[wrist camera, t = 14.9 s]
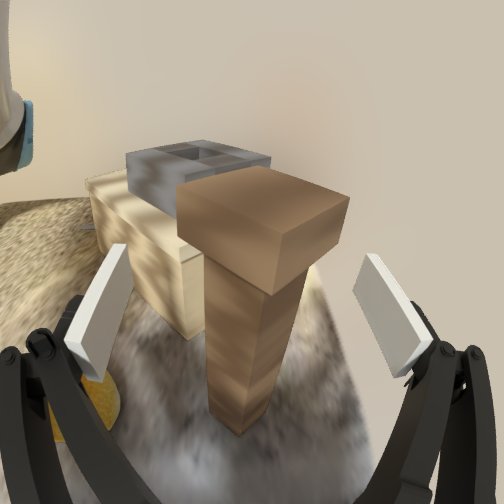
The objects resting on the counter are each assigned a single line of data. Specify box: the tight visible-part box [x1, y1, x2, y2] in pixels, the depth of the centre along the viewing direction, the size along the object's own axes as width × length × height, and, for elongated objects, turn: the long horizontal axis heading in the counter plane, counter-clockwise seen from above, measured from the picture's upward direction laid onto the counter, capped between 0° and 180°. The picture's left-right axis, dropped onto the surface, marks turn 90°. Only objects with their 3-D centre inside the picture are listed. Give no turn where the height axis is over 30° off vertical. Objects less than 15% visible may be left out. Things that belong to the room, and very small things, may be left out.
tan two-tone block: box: [85, 140, 271, 341], centre depth 30 cm, size 21×15×14 cm
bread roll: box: [48, 370, 120, 442], centre depth 15 cm, size 8×9×4 cm
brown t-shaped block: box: [176, 165, 350, 437], centre depth 14 cm, size 4×4×17 cm
